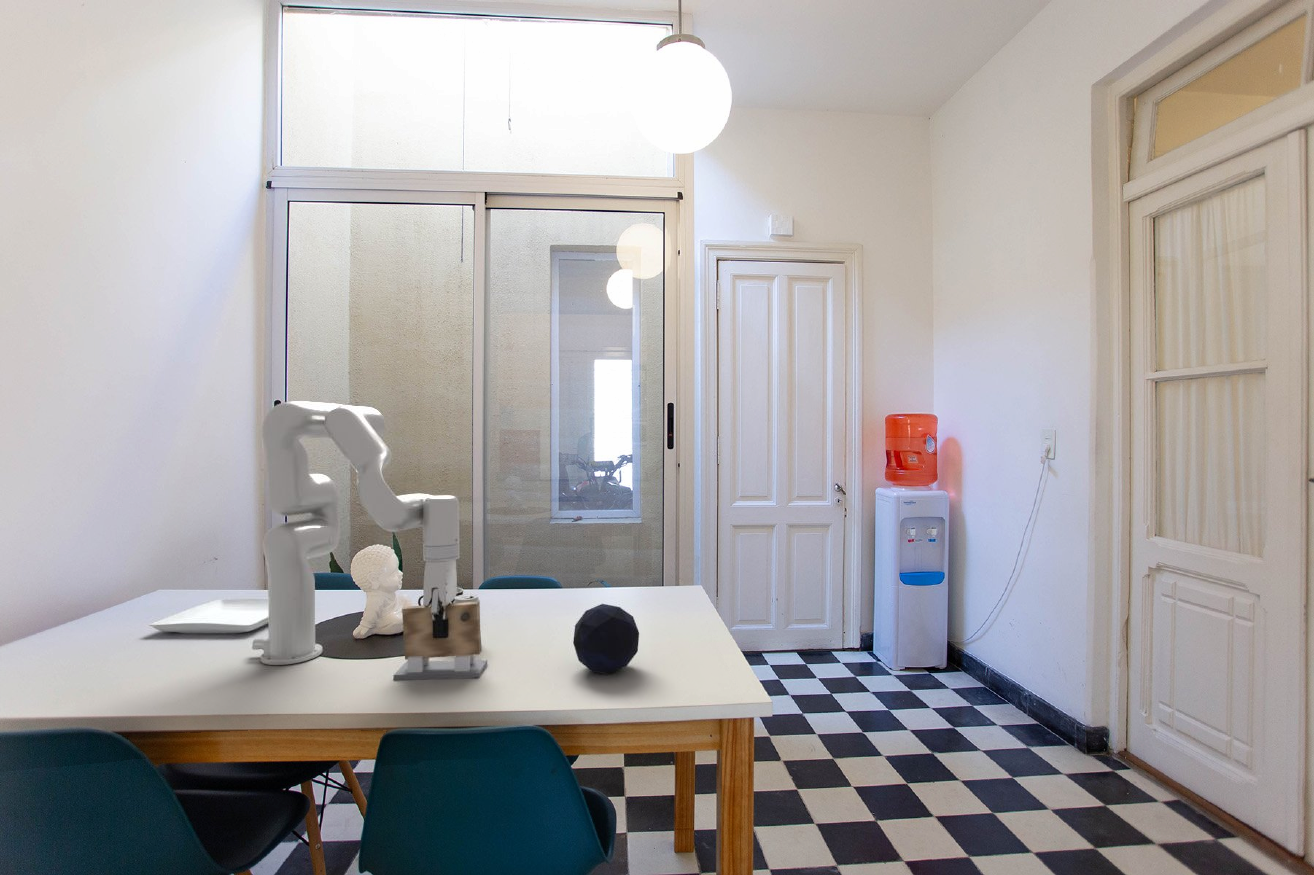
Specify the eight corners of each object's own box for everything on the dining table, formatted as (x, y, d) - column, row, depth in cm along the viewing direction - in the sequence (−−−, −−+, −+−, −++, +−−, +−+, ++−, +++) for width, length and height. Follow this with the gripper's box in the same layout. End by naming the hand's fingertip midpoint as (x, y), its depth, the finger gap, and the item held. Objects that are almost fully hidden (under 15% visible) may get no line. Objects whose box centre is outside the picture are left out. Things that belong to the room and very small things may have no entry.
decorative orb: (561, 636, 147) (571, 594, 138) (622, 628, 153) (635, 587, 144) (574, 692, 136) (587, 649, 128) (639, 681, 142) (655, 640, 134)
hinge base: (393, 679, 135) (393, 660, 135) (406, 666, 143) (406, 648, 143) (479, 677, 136) (479, 659, 136) (487, 664, 144) (487, 646, 144)
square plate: (251, 638, 164) (251, 623, 164) (146, 638, 164) (146, 623, 164) (309, 610, 191) (309, 597, 191) (219, 609, 191) (219, 596, 191)
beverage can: (472, 649, 154) (472, 600, 154) (448, 648, 155) (448, 599, 155) (484, 641, 160) (484, 593, 160) (461, 640, 161) (461, 592, 161)
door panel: (403, 661, 137) (400, 610, 137) (408, 656, 140) (405, 606, 140) (478, 656, 138) (475, 605, 138) (481, 651, 141) (478, 601, 141)
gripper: (434, 546, 147) (435, 625, 147) (412, 559, 131) (413, 648, 131) (467, 545, 147) (468, 624, 147) (449, 558, 132) (449, 647, 132)
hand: (442, 635), depth 139 cm, fingers closed on door panel, 2 cm apart
